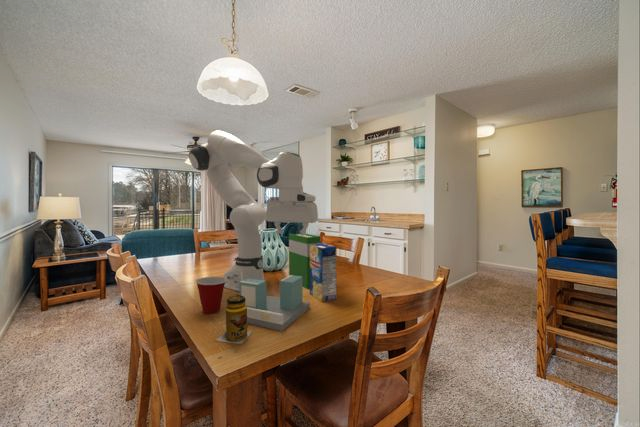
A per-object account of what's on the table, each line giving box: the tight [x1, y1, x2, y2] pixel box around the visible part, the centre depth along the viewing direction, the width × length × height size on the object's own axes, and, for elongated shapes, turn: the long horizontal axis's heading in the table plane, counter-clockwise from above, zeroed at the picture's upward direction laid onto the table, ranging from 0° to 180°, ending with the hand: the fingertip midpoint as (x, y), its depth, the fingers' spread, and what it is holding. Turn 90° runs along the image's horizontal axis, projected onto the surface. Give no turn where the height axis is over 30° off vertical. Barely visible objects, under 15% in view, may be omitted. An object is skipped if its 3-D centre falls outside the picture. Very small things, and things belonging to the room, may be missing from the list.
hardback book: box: [288, 233, 321, 290], centre depth 133 cm, size 18×7×24 cm, turn 35°
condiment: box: [215, 294, 253, 345], centre depth 81 cm, size 7×8×12 cm
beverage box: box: [309, 242, 338, 303], centre depth 114 cm, size 7×11×22 cm, turn 29°
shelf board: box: [247, 294, 311, 332], centre depth 97 cm, size 20×20×5 cm
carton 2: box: [279, 275, 304, 310], centre depth 100 cm, size 8×5×10 cm, turn 156°
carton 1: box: [238, 278, 267, 310], centre depth 96 cm, size 8×5×10 cm, turn 66°
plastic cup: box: [195, 276, 227, 315], centre depth 99 cm, size 11×11×12 cm
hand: (291, 234), depth 99 cm, fingers open, 8 cm apart
